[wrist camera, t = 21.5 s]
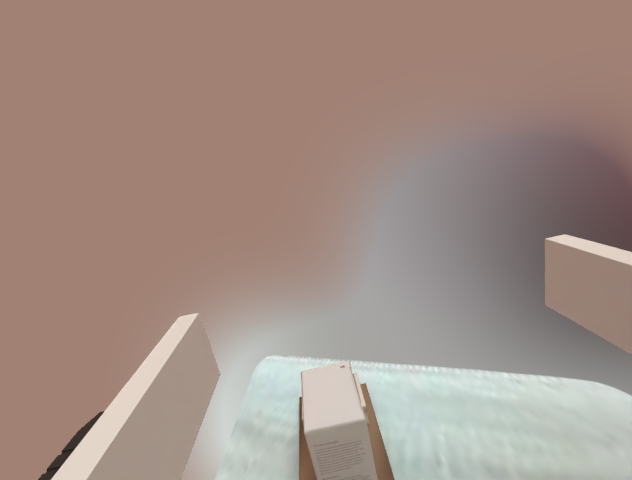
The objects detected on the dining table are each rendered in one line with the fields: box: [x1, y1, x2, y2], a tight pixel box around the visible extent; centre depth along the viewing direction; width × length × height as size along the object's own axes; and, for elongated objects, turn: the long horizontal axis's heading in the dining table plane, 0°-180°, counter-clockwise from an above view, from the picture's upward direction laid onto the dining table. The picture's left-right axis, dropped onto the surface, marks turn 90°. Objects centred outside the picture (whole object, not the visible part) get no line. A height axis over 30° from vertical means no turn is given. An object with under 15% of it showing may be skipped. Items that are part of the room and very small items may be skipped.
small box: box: [301, 361, 378, 480], centre depth 30 cm, size 8×6×10 cm
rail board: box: [299, 373, 394, 480], centre depth 32 cm, size 10×24×4 cm, turn 3°
